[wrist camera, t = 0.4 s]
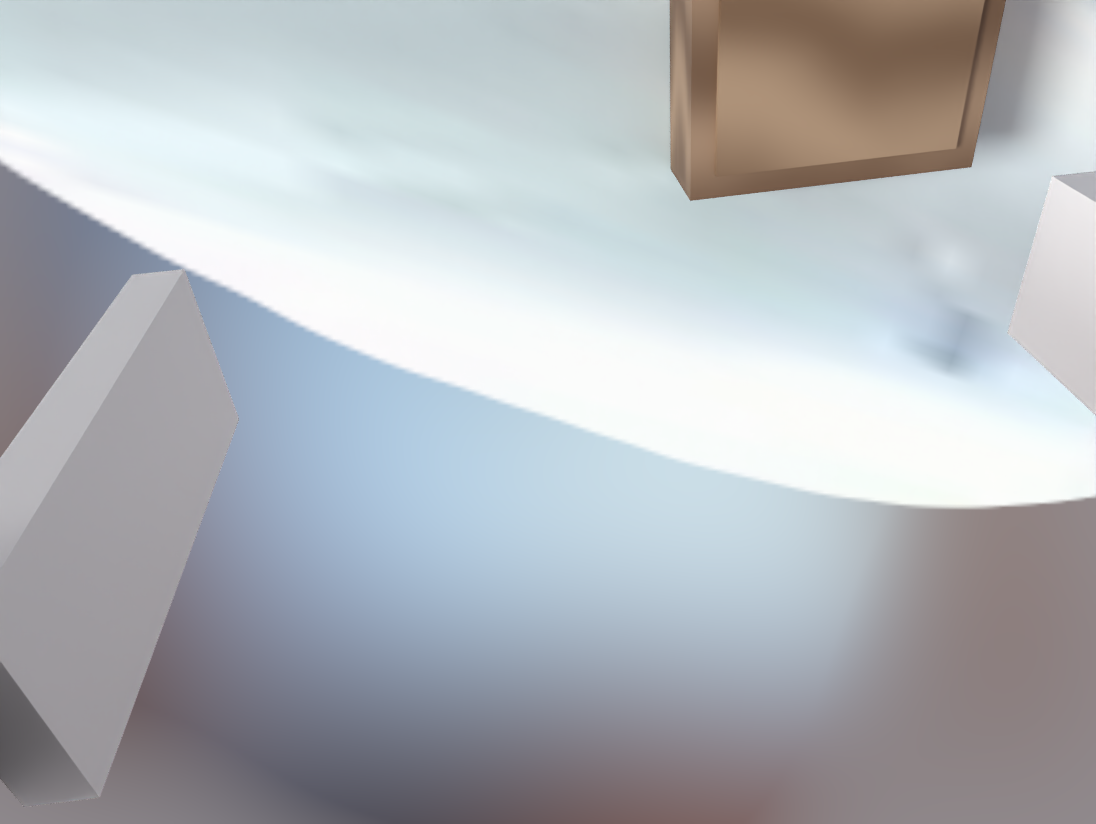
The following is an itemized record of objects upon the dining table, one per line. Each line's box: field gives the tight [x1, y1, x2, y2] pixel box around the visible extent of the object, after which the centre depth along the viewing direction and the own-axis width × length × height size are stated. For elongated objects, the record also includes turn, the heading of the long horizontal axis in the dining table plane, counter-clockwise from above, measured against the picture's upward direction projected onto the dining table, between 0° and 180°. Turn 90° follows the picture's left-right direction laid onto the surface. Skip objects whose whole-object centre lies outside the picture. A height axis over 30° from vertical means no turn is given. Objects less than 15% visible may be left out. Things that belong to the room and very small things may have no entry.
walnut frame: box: [670, 0, 1006, 201], centre depth 33 cm, size 12×12×4 cm
